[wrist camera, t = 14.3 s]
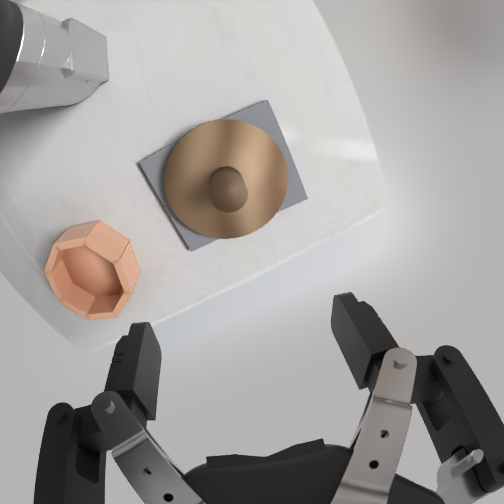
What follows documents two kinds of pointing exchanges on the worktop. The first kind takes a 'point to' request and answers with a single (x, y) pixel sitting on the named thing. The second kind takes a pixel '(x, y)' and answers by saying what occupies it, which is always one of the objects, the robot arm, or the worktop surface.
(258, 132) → the lid
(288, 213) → the worktop surface
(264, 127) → the mat
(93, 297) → the bowl
